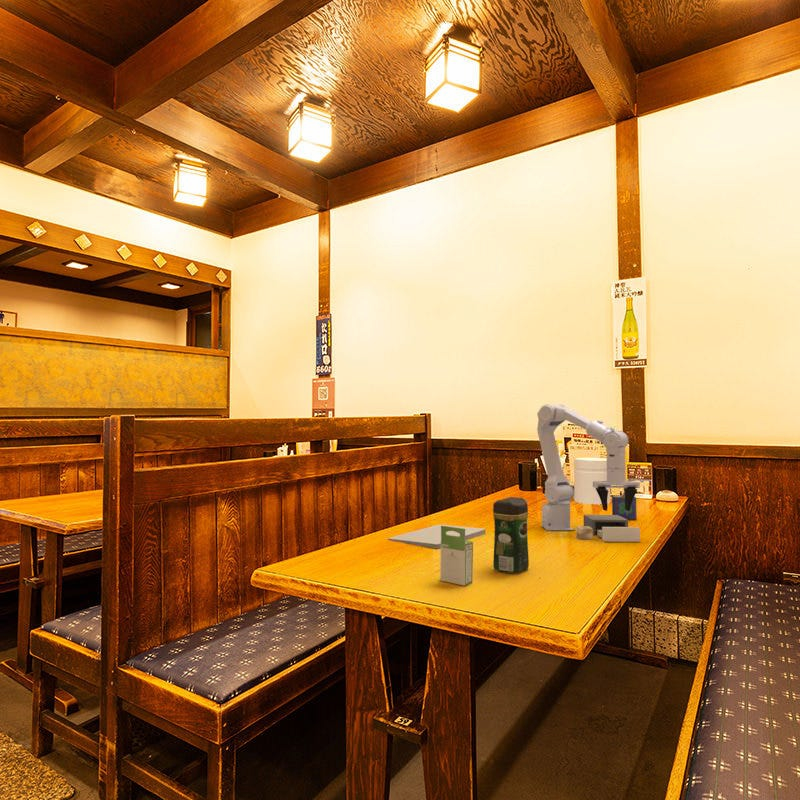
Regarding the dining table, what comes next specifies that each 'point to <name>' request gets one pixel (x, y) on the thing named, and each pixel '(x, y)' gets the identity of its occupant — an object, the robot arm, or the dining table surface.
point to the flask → (623, 507)
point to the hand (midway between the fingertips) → (616, 510)
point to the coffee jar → (510, 535)
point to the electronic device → (434, 536)
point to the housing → (604, 521)
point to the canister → (589, 479)
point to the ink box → (456, 557)
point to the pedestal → (584, 533)
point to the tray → (619, 534)
